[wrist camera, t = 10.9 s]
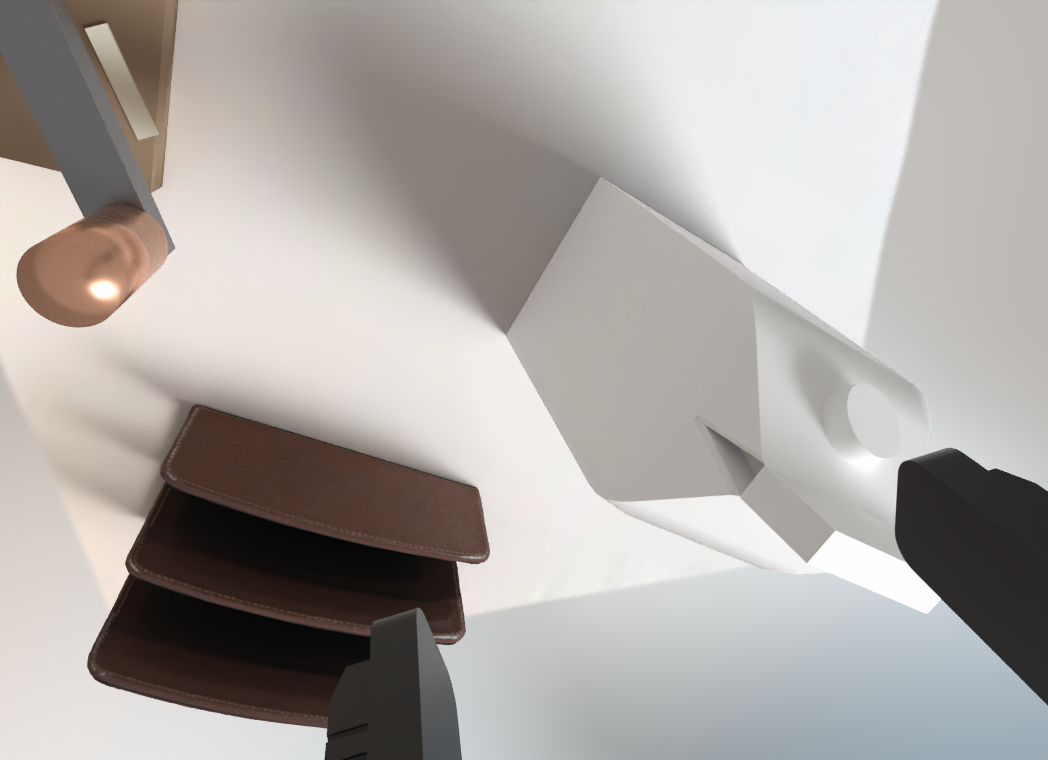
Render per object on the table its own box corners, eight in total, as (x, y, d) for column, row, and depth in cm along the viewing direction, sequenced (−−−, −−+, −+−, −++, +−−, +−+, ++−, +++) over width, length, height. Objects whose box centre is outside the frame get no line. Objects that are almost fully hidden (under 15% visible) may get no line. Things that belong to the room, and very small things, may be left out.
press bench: (-16, -189, 29) (-127, -254, 22) (191, -113, 31) (142, -153, 25) (-11, 143, 34) (-101, 165, 28) (165, 187, 36) (120, 216, 30)
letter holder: (427, 586, 52) (439, 756, 40) (154, 521, 45) (65, 701, 33) (480, 485, 49) (512, 636, 36) (195, 400, 42) (113, 548, 30)
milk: (505, 335, 44) (634, 653, 21) (600, 176, 40) (881, 347, 17) (648, 404, 48) (885, 731, 25) (745, 266, 44) (1123, 498, 22)
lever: (-118, -176, 23) (-322, -265, 16) (1, -197, 23) (-153, -294, 17) (111, 276, 31) (35, 339, 24) (198, 256, 31) (146, 312, 24)
